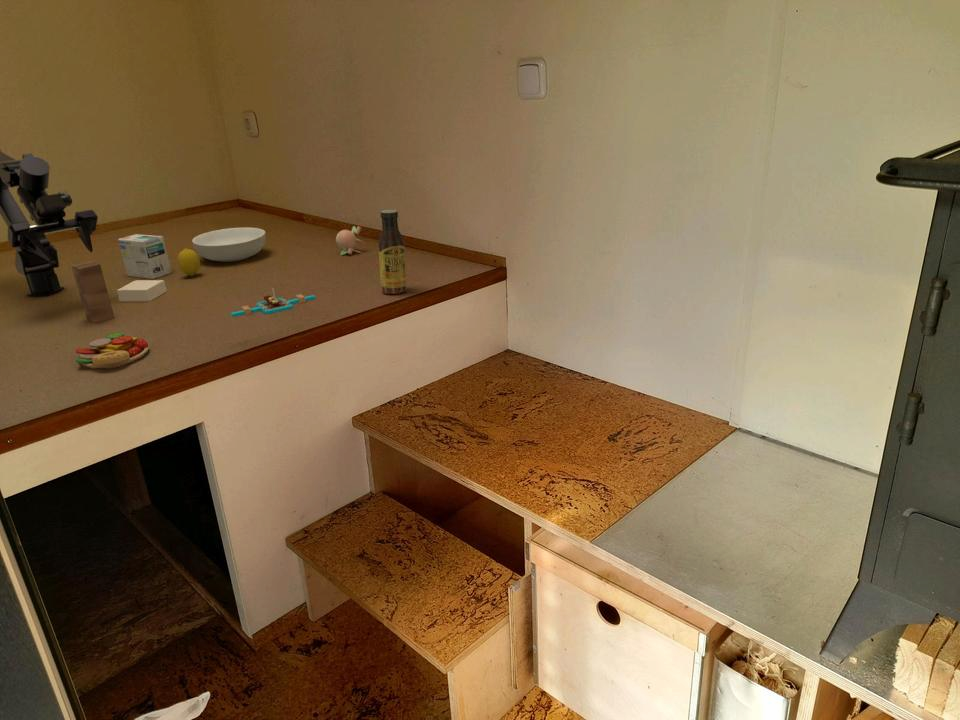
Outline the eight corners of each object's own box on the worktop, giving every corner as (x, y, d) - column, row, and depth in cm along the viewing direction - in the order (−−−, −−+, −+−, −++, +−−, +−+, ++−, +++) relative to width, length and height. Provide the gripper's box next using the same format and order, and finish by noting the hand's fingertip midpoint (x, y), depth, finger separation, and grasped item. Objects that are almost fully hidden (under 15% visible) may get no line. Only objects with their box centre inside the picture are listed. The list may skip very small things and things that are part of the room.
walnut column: (86, 319, 162) (71, 265, 157) (106, 313, 165) (91, 261, 160) (95, 323, 159) (79, 268, 154) (114, 317, 162) (99, 263, 157)
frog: (371, 234, 207) (359, 233, 213) (350, 220, 202) (338, 219, 207) (358, 263, 206) (345, 262, 211) (336, 250, 200) (324, 249, 206)
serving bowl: (181, 265, 203) (176, 242, 200) (229, 247, 221) (225, 225, 218) (238, 270, 196) (233, 246, 193) (283, 251, 213) (279, 228, 210)
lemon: (195, 279, 188) (189, 251, 185) (177, 279, 189) (170, 250, 186) (206, 273, 193) (200, 245, 190) (188, 273, 194) (182, 245, 191)
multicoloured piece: (226, 312, 164) (236, 322, 157) (222, 290, 162) (232, 300, 155) (307, 294, 174) (320, 304, 166) (304, 274, 171) (317, 282, 164)
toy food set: (111, 376, 132) (107, 360, 131) (62, 368, 137) (57, 353, 135) (164, 349, 143) (160, 335, 142) (116, 343, 148) (112, 328, 147)
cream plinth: (119, 301, 173) (116, 290, 172) (138, 291, 181) (135, 280, 179) (149, 301, 172) (146, 290, 171) (166, 291, 180) (164, 280, 178)
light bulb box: (172, 272, 196) (164, 235, 191) (153, 279, 190) (144, 241, 186) (145, 269, 200) (136, 233, 196) (126, 276, 194) (116, 238, 190)
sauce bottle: (387, 297, 167) (378, 215, 159) (378, 290, 172) (369, 210, 164) (412, 292, 170) (404, 211, 162) (402, 285, 175) (395, 207, 167)
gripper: (-5, 188, 152) (29, 243, 150) (83, 175, 165) (115, 225, 162) (-6, 220, 160) (27, 273, 157) (79, 205, 173) (110, 254, 170)
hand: (71, 255), depth 162 cm, fingers open, 9 cm apart
